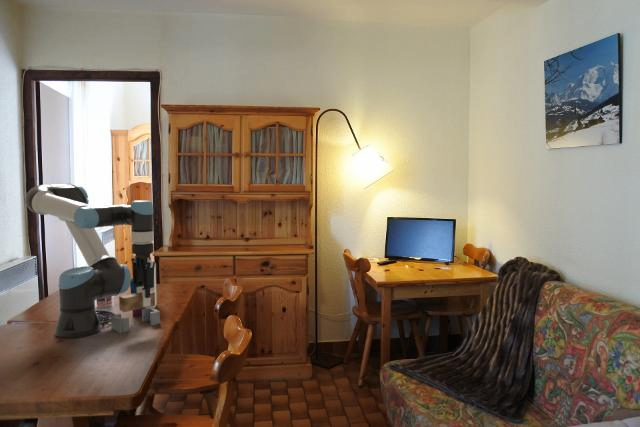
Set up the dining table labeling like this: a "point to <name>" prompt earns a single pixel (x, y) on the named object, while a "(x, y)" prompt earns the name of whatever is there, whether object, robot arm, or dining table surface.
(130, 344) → the dining table surface
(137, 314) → the cup
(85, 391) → the dining table surface
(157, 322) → the endcap far
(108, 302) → the pill bottle
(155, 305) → the milk
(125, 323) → the grey u-shaped bracket
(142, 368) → the dining table surface
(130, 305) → the slat
